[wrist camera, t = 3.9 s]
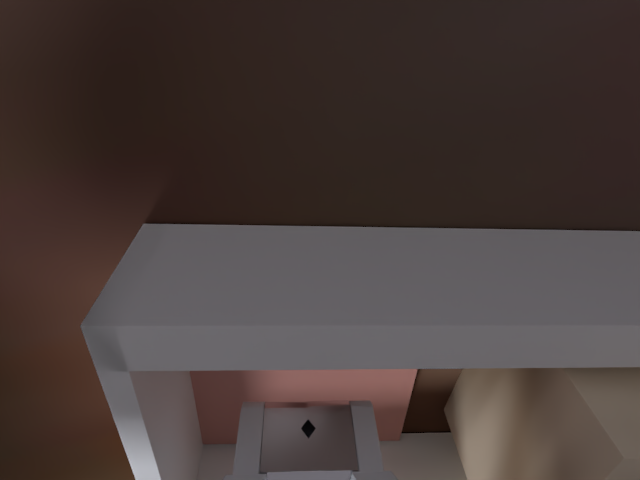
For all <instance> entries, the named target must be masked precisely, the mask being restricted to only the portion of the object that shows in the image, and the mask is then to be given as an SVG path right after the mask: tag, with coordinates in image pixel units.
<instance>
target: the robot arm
mask: <svg viewBox="0 0 640 480" xmlns="http://www.w3.org/2000/svg"><path fill="white" fill-rule="evenodd" d="M222 480H398V479H397V477H396V476H395V475H394V474H393V472H392V471H385V470H384V464H383V459H382V453H381V448H380V442H379V437H378V431H377V426H376V420H375V415H374V410H373V405H372V403H371V401H370V400H361V401H348V400H334V401H307V402H243V404H242V407H241V412H240V419H239V427H238V435H237V443H236V450H235V458H234V466H233V474H228V475H225V476H224V478H223V479H222Z"/></svg>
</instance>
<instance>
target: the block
mask: <svg viewBox="0 0 640 480" xmlns="http://www.w3.org/2000/svg"><path fill="white" fill-rule="evenodd" d="M444 413H445V416H446V418H447V421H448V424H449V427H450V430H451V433H452V436H453V439H454V442H455V445H456V448H457V451H458V453H459V456H460V459H461V462H462V465H463V468H464V471H465V474H466V477H467V480H640V367H598V368H472V369H462V371H461V373H460V376H459V378H458V380H457V382H456V384H455V386H454V388H453V391H452V393H451V395H450V397H449V399H448V401H447V403H446V406H445V408H444Z"/></svg>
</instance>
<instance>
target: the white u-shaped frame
mask: <svg viewBox="0 0 640 480" xmlns="http://www.w3.org/2000/svg"><path fill="white" fill-rule="evenodd" d="M80 327H81V329H82V332H83V335H84V338H85V341H86V343H87V346H88V349H89V352H90V354H91V357H92V360H93V363H94V365H95V368H96V371H97V374H98V377H99V379H100V382H101V385H102V388H103V390H104V393H105V396H106V399H107V401H108V404H109V407H110V410H111V413H112V415H113V418H114V421H115V424H116V426H117V429H118V432H119V435H120V437H121V440H122V443H123V446H124V449H125V451H126V454H127V457H128V460H129V462H130V465H131V468H132V471H133V473H134V476H135V479H136V480H222V479H223V478H224V476H225V475H228V474H233V466H234V458H235V450H236V443H237V435H238V427H239V419H240V412H241V407H242V404H243V402H307V401H334V400H348V401H361V400H370V401H371V403H372V405H373V410H374V415H375V420H376V426H377V431H378V437H379V442H380V448H381V453H382V459H383V464H384V470H385V471H392V472H393V474H394V475H395V476H396V477H397V479H398V480H467V477H466V474H465V471H464V468H463V465H462V462H461V459H460V456H459V453H458V451H457V448H456V445H455V442H454V439H453V436H452V433H401V432H402V428H403V424H404V420H405V416H406V412H407V409H408V405H409V401H410V397H411V393H412V389H413V385H414V381H415V377H416V373H417V370H418V369H472V368H598V367H640V231H598V230H533V229H467V228H401V227H335V226H269V225H203V224H143V225H142V227H141V228H140V230H139V232H138V233H137V235H136V236H135V238H134V240H133V241H132V243H131V244H130V246H129V248H128V249H127V251H126V253H125V254H124V256H123V257H122V259H121V261H120V262H119V264H118V266H117V267H116V269H115V270H114V272H113V274H112V275H111V277H110V279H109V280H108V282H107V283H106V285H105V287H104V288H103V290H102V291H101V293H100V295H99V296H98V298H97V300H96V301H95V303H94V304H93V306H92V308H91V309H90V311H89V313H88V314H87V316H86V317H85V319H84V321H83V322H82V324H81V325H80Z"/></svg>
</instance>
